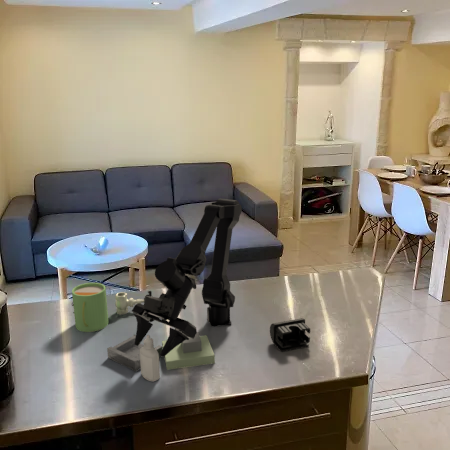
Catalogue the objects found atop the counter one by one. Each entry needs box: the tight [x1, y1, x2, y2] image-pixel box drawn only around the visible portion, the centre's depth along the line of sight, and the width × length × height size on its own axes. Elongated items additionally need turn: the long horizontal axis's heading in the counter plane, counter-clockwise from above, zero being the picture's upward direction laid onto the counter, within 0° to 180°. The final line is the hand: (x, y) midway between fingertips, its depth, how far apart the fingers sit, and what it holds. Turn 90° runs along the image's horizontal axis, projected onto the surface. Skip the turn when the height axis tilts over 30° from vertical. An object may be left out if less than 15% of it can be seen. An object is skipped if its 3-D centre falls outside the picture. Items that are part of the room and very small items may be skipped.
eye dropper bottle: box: [140, 334, 161, 383], centre depth 125 cm, size 4×6×12 cm
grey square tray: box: [106, 334, 162, 372], centre depth 136 cm, size 10×11×3 cm
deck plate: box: [161, 332, 216, 371], centre depth 136 cm, size 13×11×6 cm
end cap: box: [269, 317, 311, 353], centre depth 141 cm, size 10×7×7 cm
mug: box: [71, 282, 109, 333], centre depth 152 cm, size 13×10×12 cm
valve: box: [114, 290, 153, 316], centre depth 162 cm, size 7×7×12 cm
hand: (148, 350), depth 125 cm, fingers open, 9 cm apart
